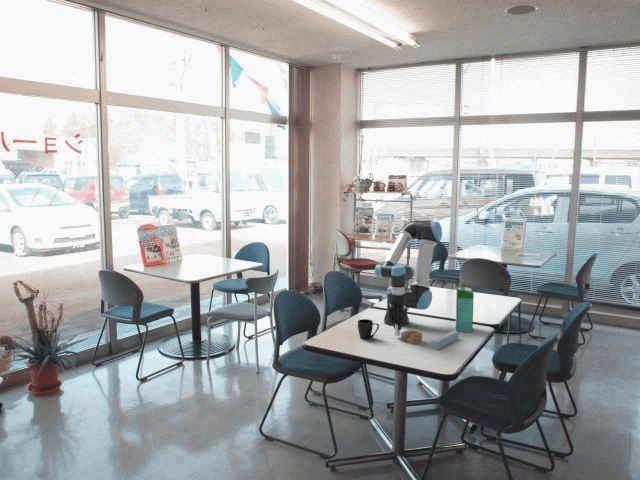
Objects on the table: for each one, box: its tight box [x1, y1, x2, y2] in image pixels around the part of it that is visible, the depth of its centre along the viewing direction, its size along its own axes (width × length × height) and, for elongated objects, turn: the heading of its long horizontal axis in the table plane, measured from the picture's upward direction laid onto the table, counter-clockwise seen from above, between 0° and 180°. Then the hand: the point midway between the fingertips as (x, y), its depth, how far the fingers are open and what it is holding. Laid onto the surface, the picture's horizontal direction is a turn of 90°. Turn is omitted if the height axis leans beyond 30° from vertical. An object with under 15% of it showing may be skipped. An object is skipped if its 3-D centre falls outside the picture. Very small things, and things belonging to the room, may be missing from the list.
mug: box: [357, 318, 380, 340], centre depth 300 cm, size 8×12×10 cm
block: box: [400, 329, 423, 345], centre depth 294 cm, size 8×8×5 cm
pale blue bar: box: [430, 330, 459, 351], centre depth 290 cm, size 3×24×4 cm, turn 139°
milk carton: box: [455, 285, 475, 333], centre depth 314 cm, size 9×9×25 cm
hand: (397, 335), depth 300 cm, fingers closed
